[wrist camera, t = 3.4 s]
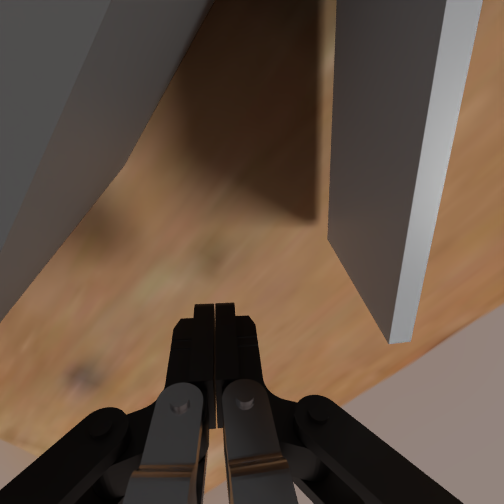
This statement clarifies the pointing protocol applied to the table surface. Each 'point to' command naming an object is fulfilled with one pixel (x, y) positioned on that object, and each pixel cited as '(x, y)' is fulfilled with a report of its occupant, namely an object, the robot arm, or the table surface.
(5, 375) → the table surface
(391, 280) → the side door
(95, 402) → the table surface
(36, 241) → the block
